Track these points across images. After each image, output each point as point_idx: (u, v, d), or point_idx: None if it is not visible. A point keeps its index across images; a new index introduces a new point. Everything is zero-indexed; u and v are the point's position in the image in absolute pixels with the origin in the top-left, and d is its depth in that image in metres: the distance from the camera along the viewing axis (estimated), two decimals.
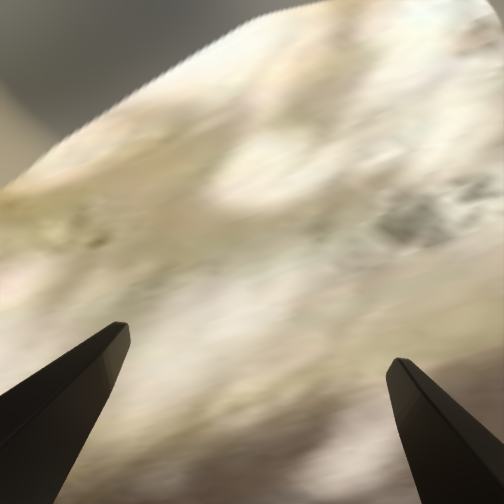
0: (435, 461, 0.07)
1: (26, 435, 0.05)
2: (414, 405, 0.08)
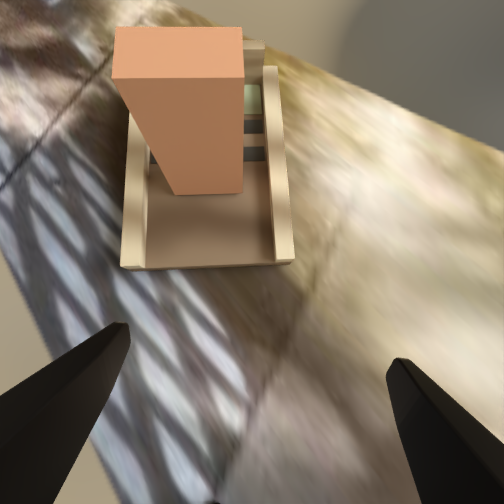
0: (435, 461, 0.07)
1: (26, 435, 0.05)
2: (414, 405, 0.08)
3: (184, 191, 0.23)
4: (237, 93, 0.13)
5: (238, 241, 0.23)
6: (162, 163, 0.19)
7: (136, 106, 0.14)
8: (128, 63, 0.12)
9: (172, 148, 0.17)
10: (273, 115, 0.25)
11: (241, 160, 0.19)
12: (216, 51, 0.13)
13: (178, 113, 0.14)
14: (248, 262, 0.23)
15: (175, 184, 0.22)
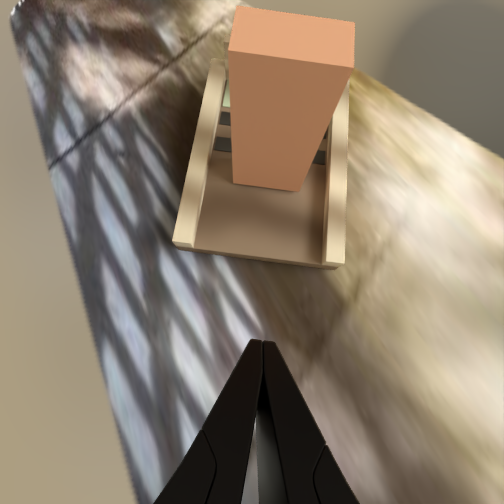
0: (263, 440, 0.07)
1: None
2: (261, 386, 0.08)
3: (244, 180, 0.23)
4: (339, 83, 0.14)
5: (288, 238, 0.23)
6: (236, 147, 0.19)
7: (238, 82, 0.14)
8: (244, 39, 0.13)
9: (252, 132, 0.18)
10: (340, 122, 0.25)
11: (313, 156, 0.19)
12: (329, 40, 0.13)
13: (274, 95, 0.15)
14: (295, 260, 0.23)
15: (238, 171, 0.22)
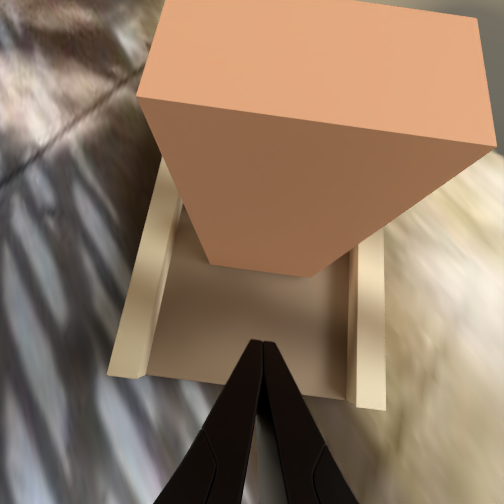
0: (263, 440, 0.07)
1: None
2: (261, 386, 0.08)
3: (226, 264, 0.15)
4: (437, 174, 0.05)
5: (293, 353, 0.15)
6: (205, 237, 0.11)
7: (184, 161, 0.06)
8: (187, 64, 0.05)
9: (231, 226, 0.09)
10: None
11: (340, 254, 0.11)
12: (418, 66, 0.05)
13: (271, 185, 0.06)
14: (305, 392, 0.15)
15: (215, 257, 0.14)
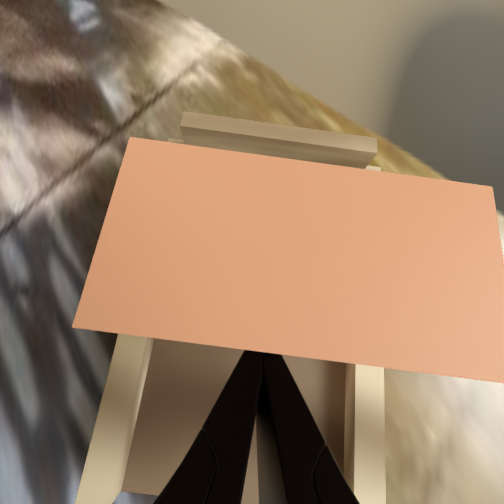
0: (263, 440, 0.07)
1: None
2: (261, 386, 0.08)
3: None
4: None
5: None
6: None
7: None
8: (139, 274, 0.04)
9: None
10: None
11: None
12: (422, 264, 0.04)
13: None
14: None
15: None
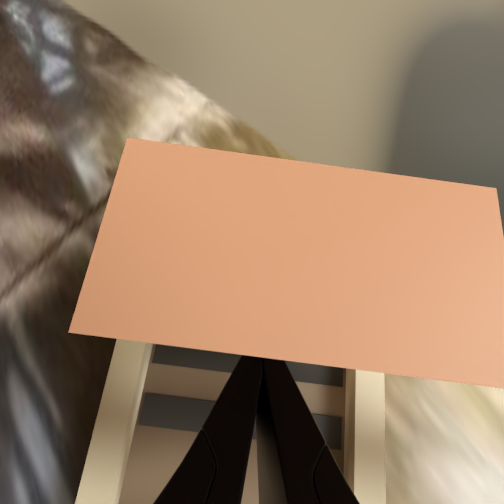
0: (263, 440, 0.07)
1: None
2: (261, 386, 0.08)
3: None
4: None
5: None
6: None
7: None
8: (136, 278, 0.04)
9: None
10: (369, 375, 0.14)
11: None
12: (425, 267, 0.04)
13: None
14: None
15: None
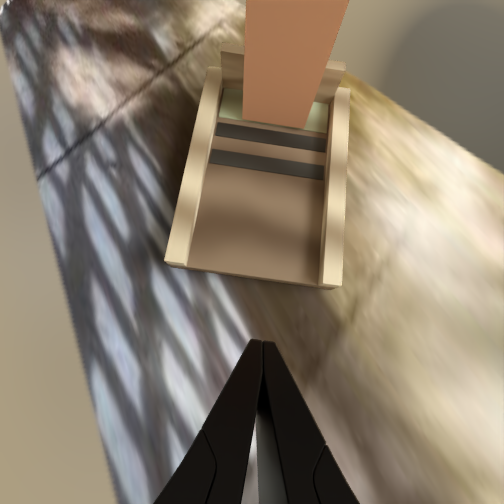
0: (263, 440, 0.07)
1: None
2: (261, 386, 0.08)
3: (253, 115, 0.25)
4: None
5: (284, 256, 0.23)
6: (247, 71, 0.21)
7: None
8: None
9: (264, 52, 0.19)
10: (339, 136, 0.25)
11: (319, 81, 0.21)
12: None
13: (287, 5, 0.16)
14: (291, 280, 0.22)
15: (248, 103, 0.24)
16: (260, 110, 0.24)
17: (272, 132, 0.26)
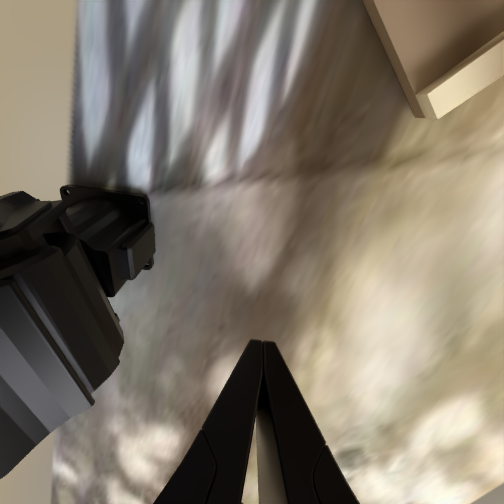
0: (263, 440, 0.07)
1: None
2: (261, 386, 0.08)
3: None
4: None
5: (430, 11, 0.13)
6: None
7: None
8: None
9: None
10: None
11: None
12: None
13: None
14: (400, 55, 0.14)
15: None
16: None
17: None
